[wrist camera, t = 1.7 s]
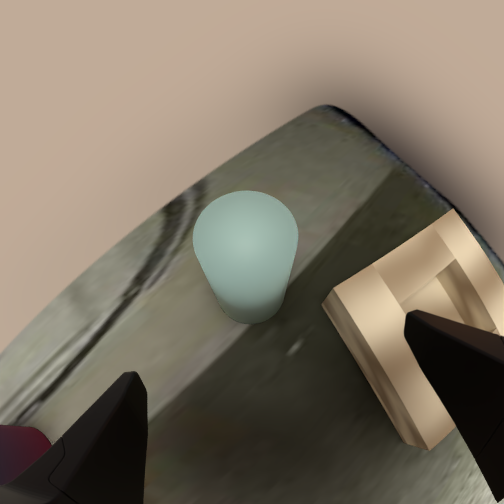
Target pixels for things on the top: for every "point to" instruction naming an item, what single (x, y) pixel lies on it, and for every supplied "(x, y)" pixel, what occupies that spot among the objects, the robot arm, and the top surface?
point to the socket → (408, 299)
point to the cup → (19, 450)
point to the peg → (247, 253)
